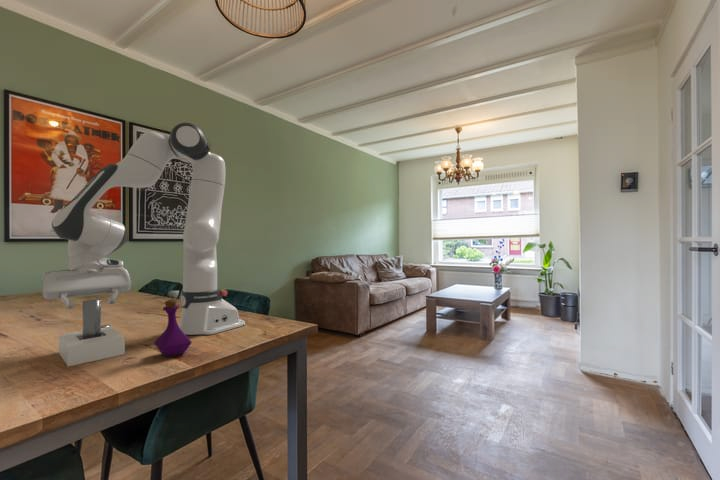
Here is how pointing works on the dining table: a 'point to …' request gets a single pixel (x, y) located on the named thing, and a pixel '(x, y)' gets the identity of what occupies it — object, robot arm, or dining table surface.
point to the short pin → (105, 326)
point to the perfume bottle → (172, 332)
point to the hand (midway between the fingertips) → (91, 305)
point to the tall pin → (91, 318)
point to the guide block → (91, 346)
